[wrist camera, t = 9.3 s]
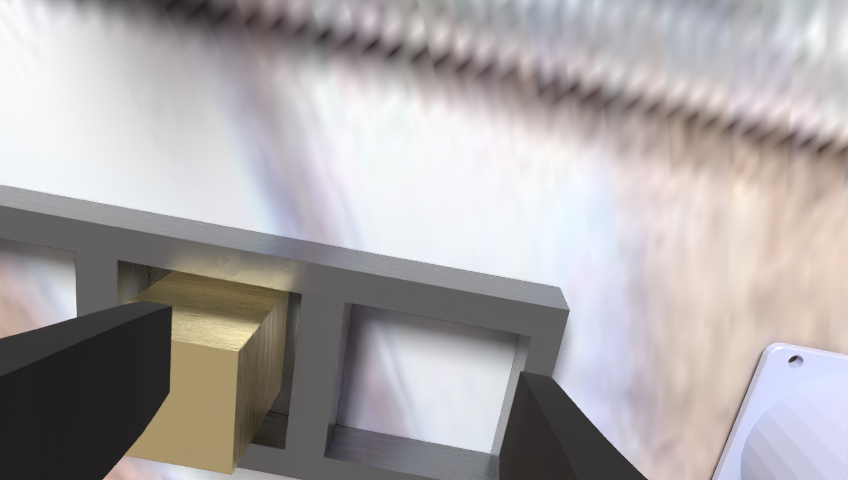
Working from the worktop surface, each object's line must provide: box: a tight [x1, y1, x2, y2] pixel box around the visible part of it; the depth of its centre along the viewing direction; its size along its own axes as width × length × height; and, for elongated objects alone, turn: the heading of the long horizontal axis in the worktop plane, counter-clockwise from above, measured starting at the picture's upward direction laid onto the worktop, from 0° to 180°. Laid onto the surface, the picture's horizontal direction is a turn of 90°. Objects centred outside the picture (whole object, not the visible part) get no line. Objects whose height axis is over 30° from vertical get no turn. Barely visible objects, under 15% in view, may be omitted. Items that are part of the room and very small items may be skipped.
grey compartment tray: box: [0, 185, 570, 480], centre depth 21 cm, size 24×9×2 cm, turn 80°
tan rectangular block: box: [123, 270, 289, 474], centre depth 19 cm, size 4×4×5 cm
